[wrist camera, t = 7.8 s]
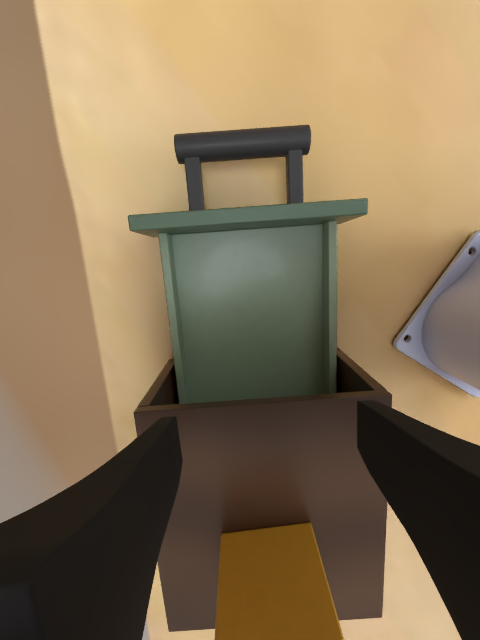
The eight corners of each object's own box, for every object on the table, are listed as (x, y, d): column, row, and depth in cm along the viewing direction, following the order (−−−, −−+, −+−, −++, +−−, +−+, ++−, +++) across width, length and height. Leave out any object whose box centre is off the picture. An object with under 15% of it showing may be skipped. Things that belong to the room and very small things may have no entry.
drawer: (141, 154, 18) (113, 123, 14) (340, 140, 18) (370, 104, 14) (175, 416, 21) (161, 452, 17) (339, 404, 21) (363, 438, 17)
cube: (220, 532, 15) (213, 656, 10) (310, 521, 15) (344, 641, 10) (233, 602, 16) (232, 744, 11) (318, 591, 16) (352, 730, 11)
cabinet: (169, 359, 21) (133, 412, 14) (338, 347, 21) (392, 394, 13) (189, 518, 24) (168, 632, 16) (337, 508, 24) (382, 618, 16)
